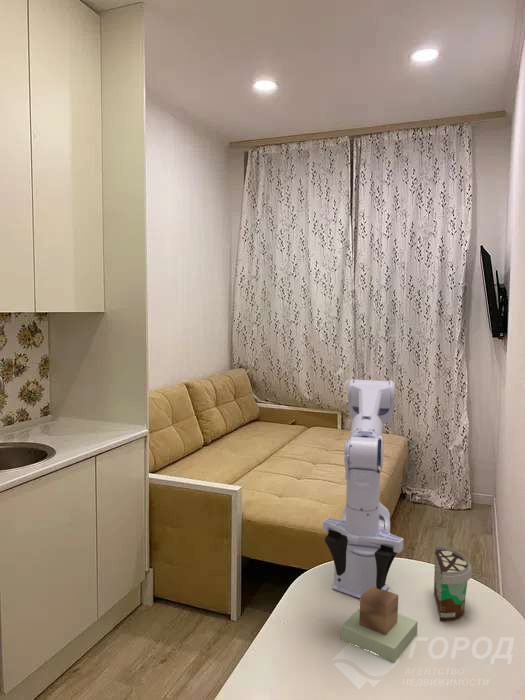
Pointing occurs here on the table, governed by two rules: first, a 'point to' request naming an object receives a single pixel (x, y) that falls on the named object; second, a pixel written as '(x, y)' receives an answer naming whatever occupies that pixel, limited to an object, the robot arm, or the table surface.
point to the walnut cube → (378, 610)
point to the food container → (450, 582)
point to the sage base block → (380, 636)
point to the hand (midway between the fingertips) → (360, 579)
